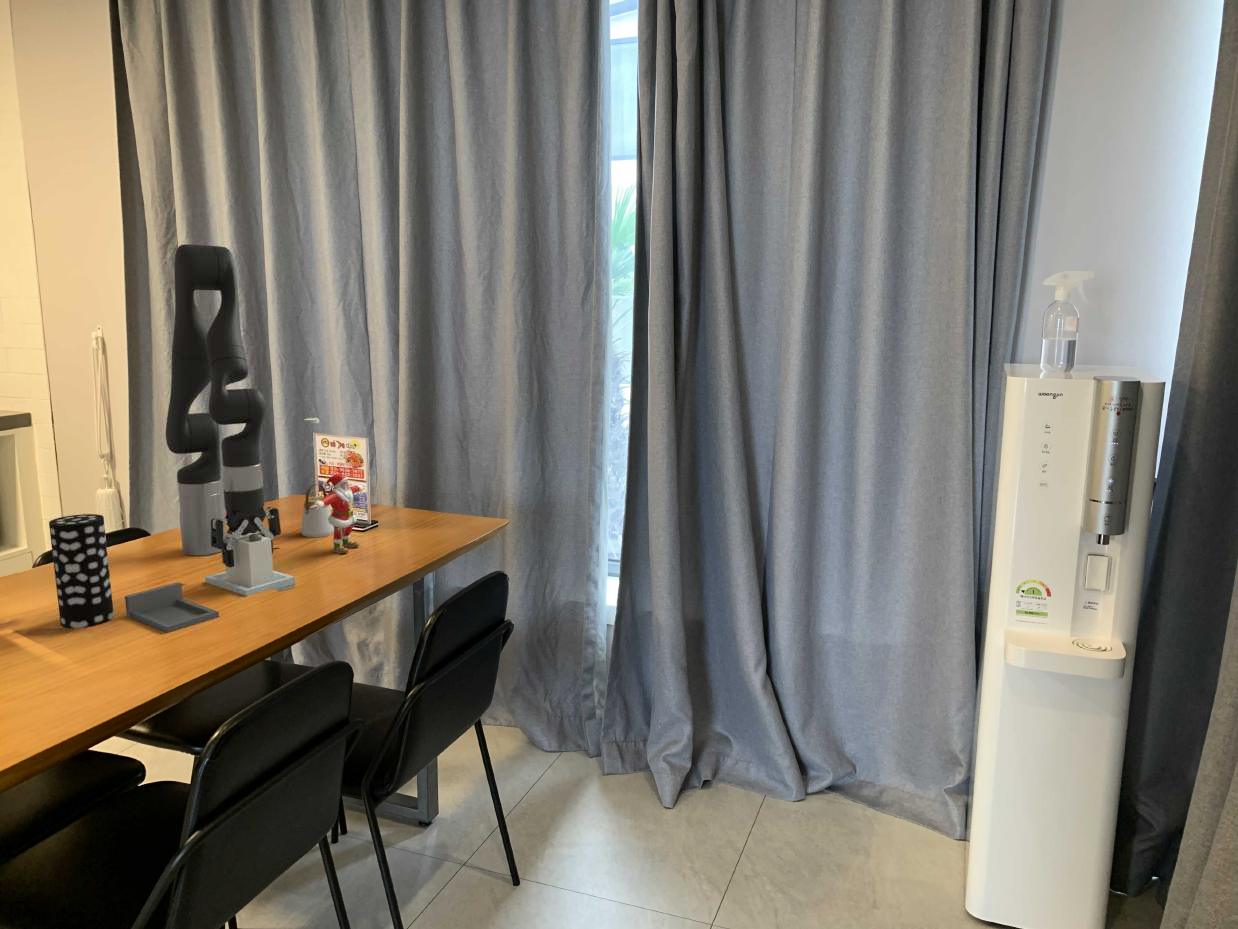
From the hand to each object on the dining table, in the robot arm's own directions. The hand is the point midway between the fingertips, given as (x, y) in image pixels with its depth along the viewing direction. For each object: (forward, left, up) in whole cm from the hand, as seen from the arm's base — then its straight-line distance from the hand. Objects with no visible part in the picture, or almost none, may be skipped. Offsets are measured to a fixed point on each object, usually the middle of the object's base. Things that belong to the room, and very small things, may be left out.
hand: (248, 561), depth 176 cm
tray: (0, 0, -5) cm, 5 cm away
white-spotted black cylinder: (-4, -30, -6) cm, 31 cm away
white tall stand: (-25, +35, -6) cm, 43 cm away
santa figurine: (-7, +29, -6) cm, 30 cm away
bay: (+7, -20, -5) cm, 22 cm away
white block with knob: (0, 0, -5) cm, 5 cm away
